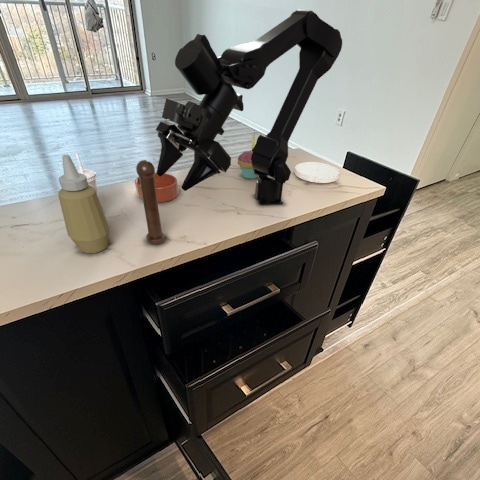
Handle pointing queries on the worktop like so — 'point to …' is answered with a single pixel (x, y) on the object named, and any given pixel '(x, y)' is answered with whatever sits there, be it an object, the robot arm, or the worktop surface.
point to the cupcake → (247, 162)
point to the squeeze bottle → (82, 210)
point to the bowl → (161, 187)
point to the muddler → (150, 202)
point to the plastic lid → (316, 172)
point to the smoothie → (87, 174)
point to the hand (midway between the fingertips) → (170, 182)
